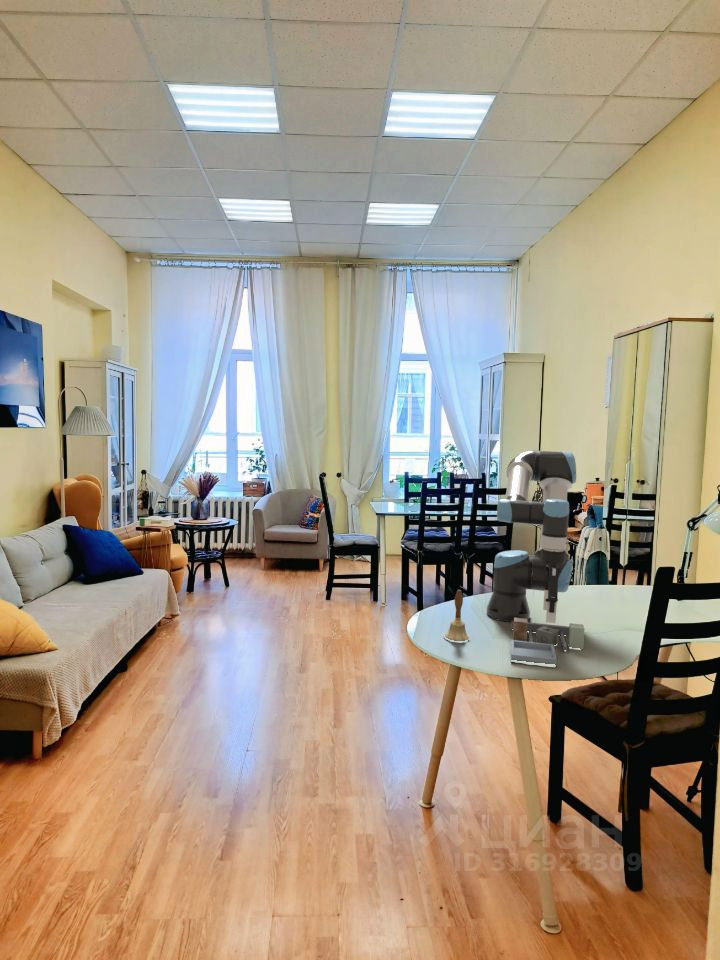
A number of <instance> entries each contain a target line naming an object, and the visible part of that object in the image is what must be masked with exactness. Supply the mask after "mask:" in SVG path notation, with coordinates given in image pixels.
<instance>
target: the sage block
mask: <svg viewBox="0 0 720 960" xmlns="http://www.w3.org/2000/svg"><path fill="white" fill-rule="evenodd" d="M568 625H569V637H568V641H567V645H568V644H569V646H568V648H569V647H572V648H580V649H583V650H584V639H585V627H584V626H585V625H584V624H581V623H573V622H569V624H568Z"/></svg>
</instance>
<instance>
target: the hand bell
mask: <svg viewBox="0 0 720 960" xmlns="http://www.w3.org/2000/svg"><path fill="white" fill-rule="evenodd" d="M463 603H464V598H463V594H462V590H461V589H457V590H456V594H455V596H454V606H455V617H454V620H451V621H450V624H449V625H450V626H449V629H448V631H447V633H445V634H444V635H445V637H446V638H448V639H450V640H454V641H465V640H468V639H469V638H470V636H469V635H468V634H467V630H466V623H465V622H464V621H462V613H461V611H462V607H463Z"/></svg>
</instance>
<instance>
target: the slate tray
mask: <svg viewBox="0 0 720 960" xmlns="http://www.w3.org/2000/svg"><path fill="white" fill-rule="evenodd" d="M511 660H517V661H526V662H534V663H545V664H555V665H556V666H557V662H558V660H557V655H556V649H555V647H554V644H544V643H536V641H535V642H534V641H533V642H529V641H527V640H526V641H517V640H513V639H511V640H510V661H511Z"/></svg>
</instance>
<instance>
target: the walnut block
mask: <svg viewBox="0 0 720 960" xmlns="http://www.w3.org/2000/svg"><path fill="white" fill-rule="evenodd" d="M527 622H528V620H527V619H524V618H514V629H513V631H512V632H513V633H512V640H517V641H526V642H527V636H528V635H527V634H528V632H527Z"/></svg>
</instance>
